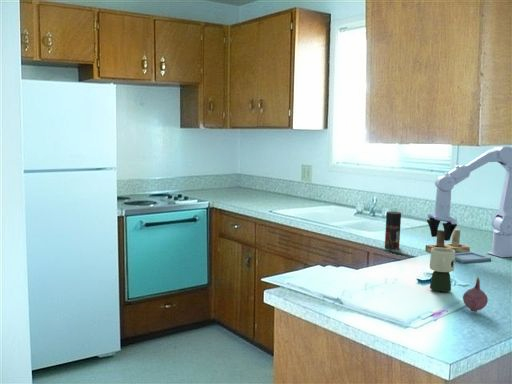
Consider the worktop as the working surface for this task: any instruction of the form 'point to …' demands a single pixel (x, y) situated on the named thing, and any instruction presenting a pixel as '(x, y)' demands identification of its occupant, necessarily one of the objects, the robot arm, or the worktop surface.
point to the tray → (470, 257)
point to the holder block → (448, 245)
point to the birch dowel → (455, 238)
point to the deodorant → (392, 230)
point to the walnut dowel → (440, 239)
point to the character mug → (441, 268)
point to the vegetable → (475, 297)
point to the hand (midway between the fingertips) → (440, 238)
